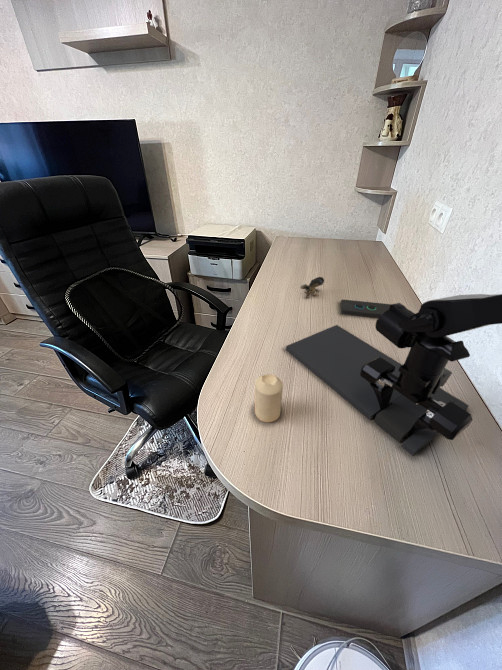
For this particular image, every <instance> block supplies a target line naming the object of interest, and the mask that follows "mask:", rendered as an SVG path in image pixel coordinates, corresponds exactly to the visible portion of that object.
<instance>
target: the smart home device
mask: <svg viewBox="0 0 502 670" xmlns="http://www.w3.org/2000/svg"><path fill="white" fill-rule="evenodd" d="M391 304H392V303H381V302H372V301H364V300H363V301H361V300H351V299H341V300H340V314H341V315H344V316H345V315H346V316H354V317H364V318H373V319H379V318H380V316H381V315H382V314H383V313H384V312H386V311H387V310H389V308H390V305H391Z"/></svg>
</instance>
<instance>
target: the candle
mask: <svg viewBox="0 0 502 670" xmlns="http://www.w3.org/2000/svg"><path fill="white" fill-rule="evenodd" d="M283 387H284V385H283V381H282V380H281V379H280V377H278V376H276V375H275V374H272V373H267V374H263V375H261V376H259V377H258V378H257V379H256V380H255V383H254V414H255V416H256V418H257V419H258V420H260V421H261V422H264V423H273V422H276V421H277V420H278V419H279V417H280V415H281V409H282V399H283Z"/></svg>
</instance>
